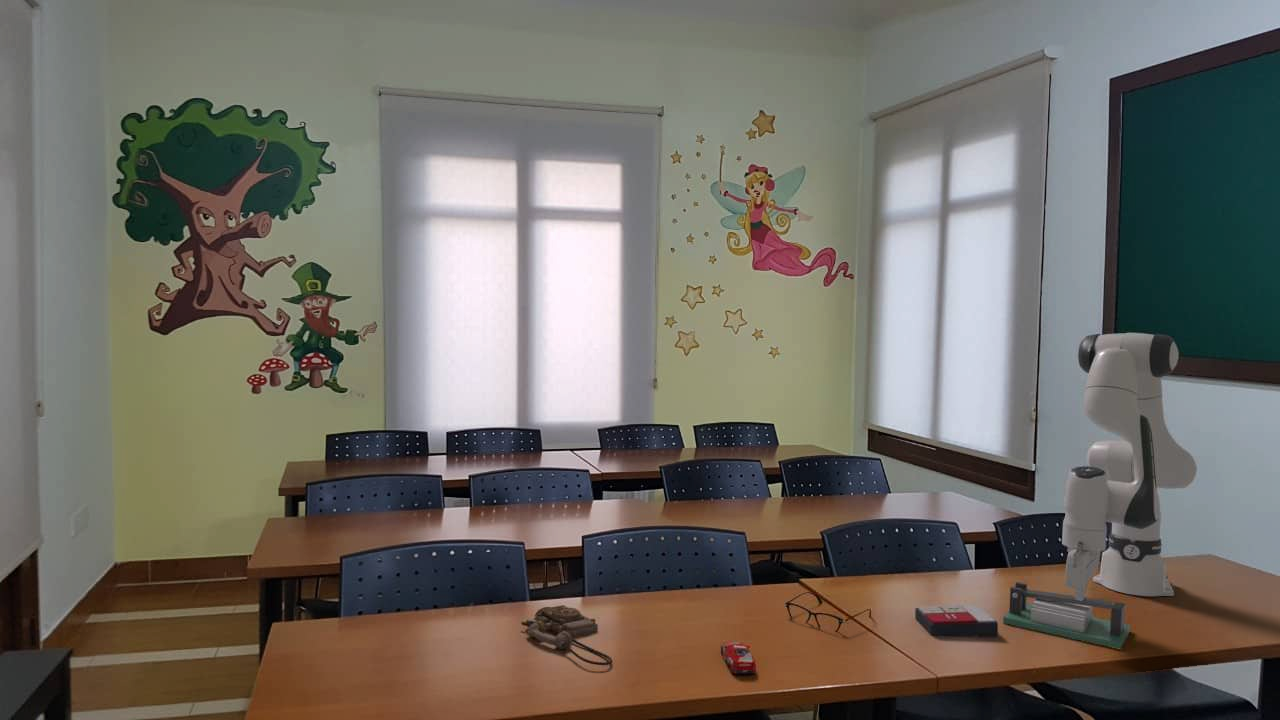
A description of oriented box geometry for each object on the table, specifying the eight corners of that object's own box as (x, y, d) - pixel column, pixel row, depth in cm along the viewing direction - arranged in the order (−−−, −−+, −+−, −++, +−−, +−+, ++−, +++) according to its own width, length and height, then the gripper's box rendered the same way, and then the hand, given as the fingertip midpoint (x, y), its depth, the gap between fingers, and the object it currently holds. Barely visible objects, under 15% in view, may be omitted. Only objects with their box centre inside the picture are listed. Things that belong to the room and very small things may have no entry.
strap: (1018, 592, 203) (1018, 588, 203) (1112, 605, 191) (1112, 601, 191) (1014, 595, 201) (1014, 591, 200) (1110, 609, 188) (1110, 604, 188)
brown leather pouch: (586, 676, 163) (587, 654, 163) (503, 624, 190) (504, 605, 189) (647, 661, 173) (648, 640, 173) (560, 614, 199) (561, 596, 199)
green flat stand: (1018, 607, 208) (1019, 577, 208) (1129, 631, 194) (1131, 599, 193) (1003, 623, 197) (1004, 591, 197) (1120, 650, 183) (1122, 615, 182)
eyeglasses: (780, 617, 198) (781, 600, 198) (816, 601, 210) (816, 586, 210) (843, 637, 187) (844, 619, 187) (877, 619, 199) (878, 602, 199)
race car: (718, 651, 177) (719, 632, 177) (744, 651, 178) (744, 632, 178) (730, 678, 164) (731, 657, 164) (758, 677, 165) (758, 657, 165)
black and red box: (914, 604, 199) (978, 602, 199) (914, 622, 199) (978, 620, 199) (931, 621, 188) (998, 619, 188) (931, 640, 188) (998, 638, 188)
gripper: (1091, 550, 182) (1087, 613, 183) (1106, 533, 198) (1102, 591, 199) (1059, 544, 186) (1055, 607, 186) (1076, 529, 202) (1073, 586, 203)
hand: (1080, 599), depth 193 cm, fingers closed, pressing on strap
